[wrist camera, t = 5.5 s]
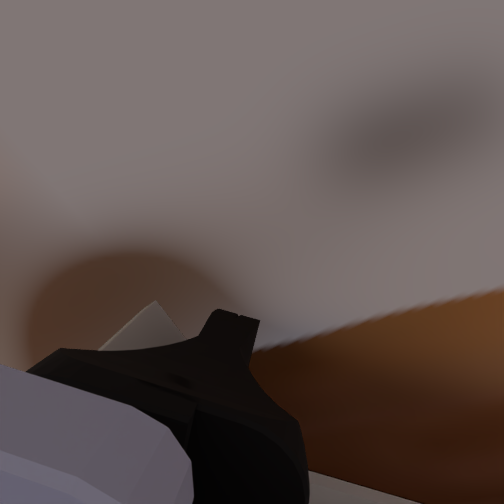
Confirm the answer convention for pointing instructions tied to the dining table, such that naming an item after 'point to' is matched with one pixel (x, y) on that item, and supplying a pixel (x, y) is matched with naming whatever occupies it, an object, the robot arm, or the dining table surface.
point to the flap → (145, 331)
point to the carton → (347, 492)
